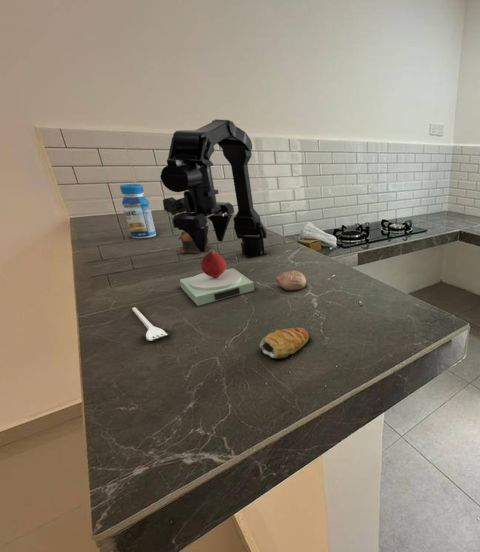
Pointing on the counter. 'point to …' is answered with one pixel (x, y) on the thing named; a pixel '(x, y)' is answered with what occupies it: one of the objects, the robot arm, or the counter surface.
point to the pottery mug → (188, 244)
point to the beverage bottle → (137, 211)
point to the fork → (150, 327)
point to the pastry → (284, 342)
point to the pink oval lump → (291, 280)
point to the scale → (216, 286)
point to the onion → (213, 264)
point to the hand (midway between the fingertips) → (211, 246)
